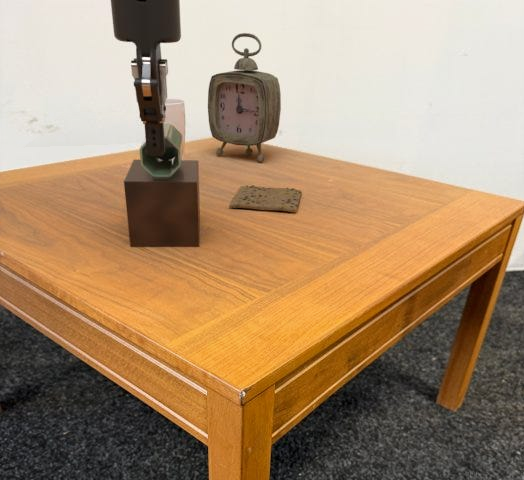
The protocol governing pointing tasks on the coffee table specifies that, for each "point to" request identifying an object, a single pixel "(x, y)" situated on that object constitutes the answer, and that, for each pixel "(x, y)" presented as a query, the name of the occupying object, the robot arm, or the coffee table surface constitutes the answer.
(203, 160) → the coffee table surface
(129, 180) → the block
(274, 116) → the tabletop clock
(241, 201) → the cookie
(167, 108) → the drinking glass
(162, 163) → the cup
